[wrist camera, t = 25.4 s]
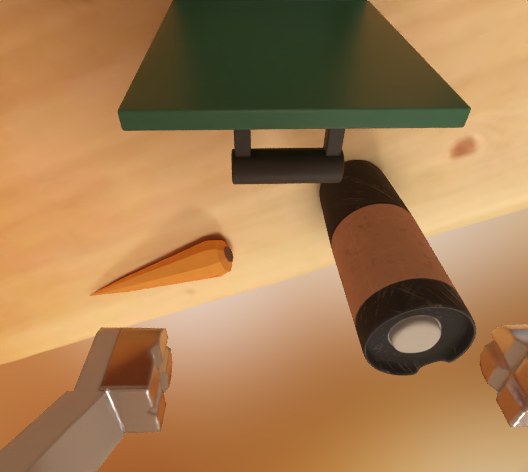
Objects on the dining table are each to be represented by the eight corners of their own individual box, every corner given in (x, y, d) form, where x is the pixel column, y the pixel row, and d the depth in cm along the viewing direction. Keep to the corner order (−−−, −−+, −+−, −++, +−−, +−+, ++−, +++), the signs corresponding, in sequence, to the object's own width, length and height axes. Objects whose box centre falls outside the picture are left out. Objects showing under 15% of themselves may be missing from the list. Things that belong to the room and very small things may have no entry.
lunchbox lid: (116, 110, 13) (143, 212, 17) (472, 108, 14) (432, 207, 17) (172, -1, 25) (182, 73, 28) (369, 0, 25) (356, 72, 28)
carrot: (227, 229, 45) (215, 242, 41) (241, 264, 46) (231, 280, 42) (91, 272, 51) (68, 288, 47) (107, 302, 52) (86, 320, 48)
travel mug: (331, 149, 39) (393, 296, 23) (400, 166, 40) (503, 314, 24) (307, 211, 43) (344, 370, 27) (369, 224, 45) (439, 382, 29)
